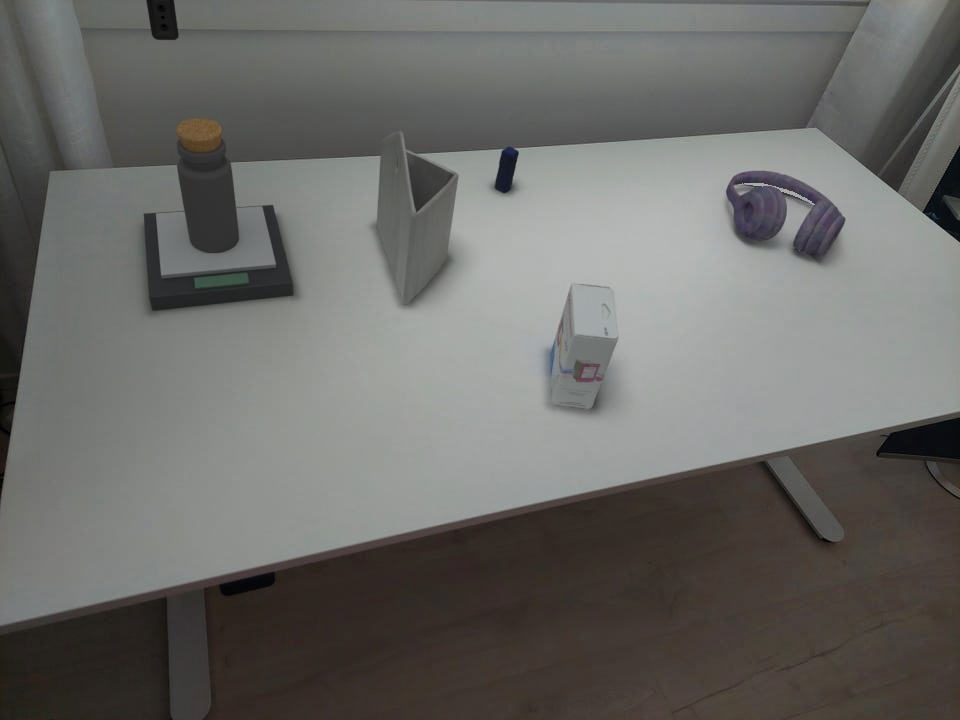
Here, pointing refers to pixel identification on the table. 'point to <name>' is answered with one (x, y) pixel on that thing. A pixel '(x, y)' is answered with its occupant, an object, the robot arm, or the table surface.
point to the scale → (215, 262)
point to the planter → (413, 214)
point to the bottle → (206, 186)
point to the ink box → (583, 345)
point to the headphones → (783, 211)
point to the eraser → (506, 169)
